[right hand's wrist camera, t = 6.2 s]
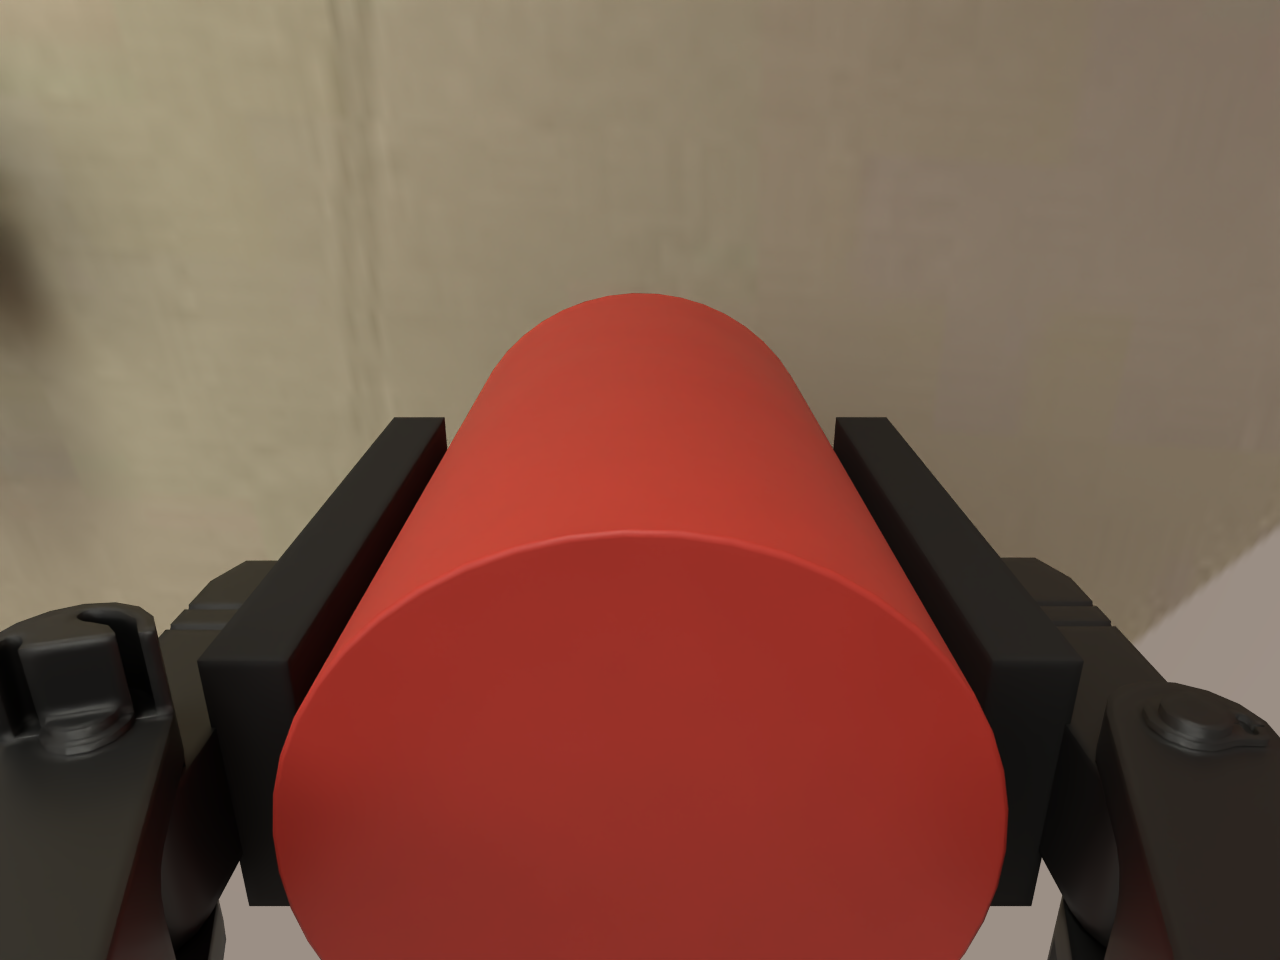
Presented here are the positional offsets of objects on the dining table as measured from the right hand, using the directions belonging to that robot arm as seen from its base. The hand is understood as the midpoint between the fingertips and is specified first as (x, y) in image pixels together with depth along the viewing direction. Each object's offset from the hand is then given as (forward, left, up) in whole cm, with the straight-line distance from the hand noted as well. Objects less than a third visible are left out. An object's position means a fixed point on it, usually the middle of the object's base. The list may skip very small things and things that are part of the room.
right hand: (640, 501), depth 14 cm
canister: (0, 0, -2) cm, 2 cm away
